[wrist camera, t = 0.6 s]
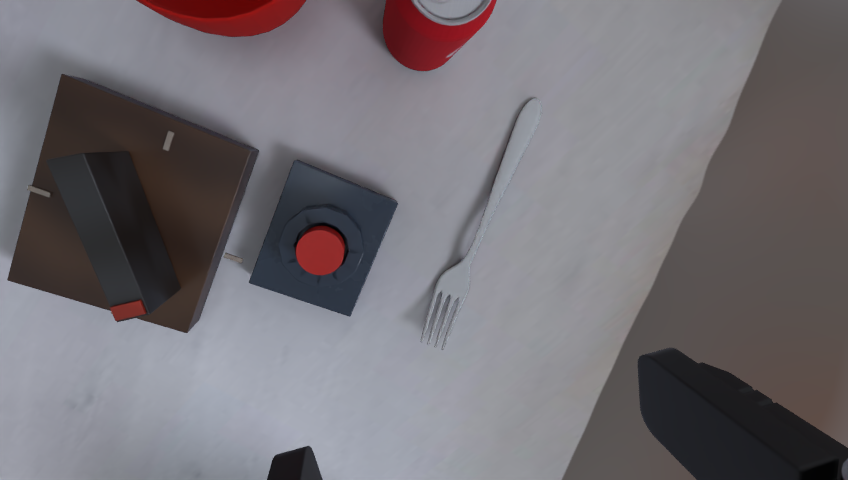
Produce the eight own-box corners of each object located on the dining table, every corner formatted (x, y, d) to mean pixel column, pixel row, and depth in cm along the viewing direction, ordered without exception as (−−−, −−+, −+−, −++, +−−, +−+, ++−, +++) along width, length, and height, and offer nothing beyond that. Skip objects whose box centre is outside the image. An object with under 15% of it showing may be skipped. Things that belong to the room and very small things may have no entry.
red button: (308, 218, 32) (305, 223, 30) (351, 235, 33) (350, 240, 31) (292, 259, 32) (288, 265, 31) (335, 274, 33) (333, 281, 31)
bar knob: (97, 156, 29) (41, 160, 24) (129, 150, 29) (80, 152, 24) (153, 295, 32) (114, 324, 27) (181, 289, 32) (148, 316, 27)
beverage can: (472, 38, 33) (531, -17, 22) (416, 88, 34) (445, 60, 22) (424, -30, 32) (460, -129, 20) (365, 24, 32) (367, -44, 20)
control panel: (83, 78, 30) (57, 72, 27) (284, 160, 33) (278, 162, 31) (31, 270, 32) (2, 281, 30) (222, 328, 36) (212, 343, 33)
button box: (297, 159, 34) (290, 161, 30) (396, 200, 36) (400, 206, 32) (253, 276, 35) (242, 290, 32) (350, 309, 37) (349, 325, 34)
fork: (552, 107, 36) (562, 105, 34) (443, 342, 40) (447, 351, 38) (521, 91, 35) (529, 88, 33) (413, 333, 39) (415, 341, 37)
